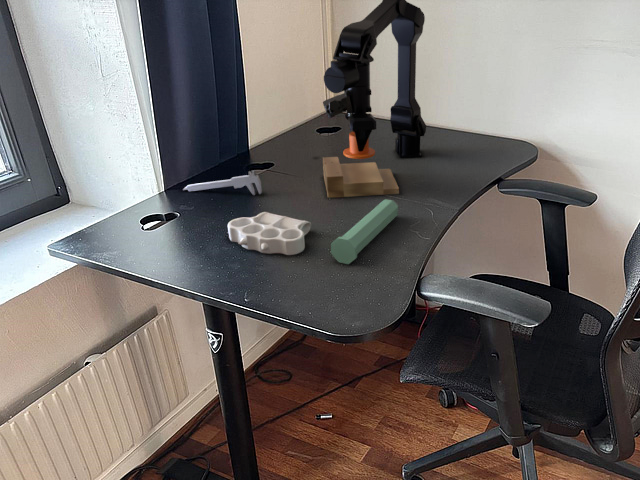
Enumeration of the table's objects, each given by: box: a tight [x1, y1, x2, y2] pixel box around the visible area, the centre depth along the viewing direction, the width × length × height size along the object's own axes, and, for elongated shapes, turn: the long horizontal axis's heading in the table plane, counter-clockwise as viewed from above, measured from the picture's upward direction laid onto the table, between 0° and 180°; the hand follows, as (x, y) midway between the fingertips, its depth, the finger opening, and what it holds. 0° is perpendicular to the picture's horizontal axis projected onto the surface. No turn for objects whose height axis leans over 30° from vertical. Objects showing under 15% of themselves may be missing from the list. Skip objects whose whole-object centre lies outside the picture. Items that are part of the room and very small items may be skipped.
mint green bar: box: [330, 198, 399, 265], centre depth 133 cm, size 6×6×25 cm
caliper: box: [182, 170, 263, 196], centre depth 153 cm, size 20×1×6 cm, turn 84°
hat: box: [343, 131, 376, 160], centre depth 154 cm, size 8×8×5 cm
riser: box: [322, 156, 400, 199], centre depth 158 cm, size 18×14×6 cm
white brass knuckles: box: [227, 211, 312, 256], centre depth 132 cm, size 3×18×15 cm
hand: (359, 147), depth 154 cm, fingers closed on hat, 5 cm apart
